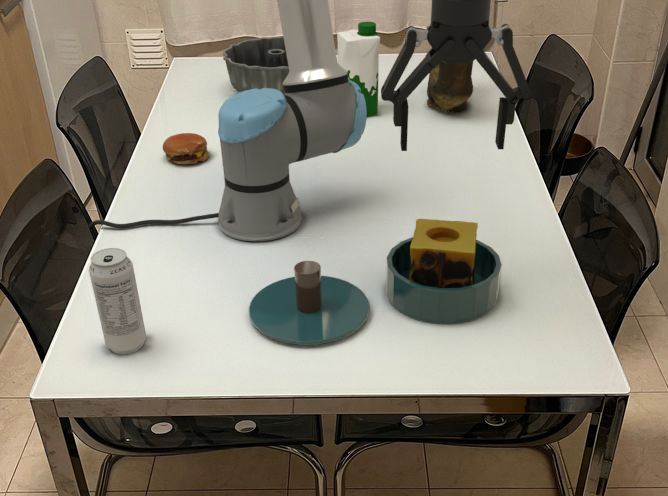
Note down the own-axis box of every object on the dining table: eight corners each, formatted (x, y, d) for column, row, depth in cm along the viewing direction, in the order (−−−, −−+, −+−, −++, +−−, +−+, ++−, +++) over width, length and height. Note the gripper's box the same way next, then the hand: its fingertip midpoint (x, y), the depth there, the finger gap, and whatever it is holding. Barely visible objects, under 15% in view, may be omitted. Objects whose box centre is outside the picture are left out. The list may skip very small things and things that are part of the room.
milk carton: (382, 116, 196) (383, 28, 184) (346, 121, 194) (344, 32, 182) (370, 103, 203) (370, 18, 191) (334, 108, 200) (332, 22, 189)
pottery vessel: (478, 126, 189) (486, 36, 178) (430, 127, 190) (435, 37, 178) (464, 88, 210) (470, 5, 198) (421, 89, 210) (424, 6, 198)
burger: (173, 147, 183) (170, 127, 180) (214, 149, 182) (211, 129, 179) (158, 166, 175) (155, 145, 173) (201, 168, 174) (199, 147, 171)
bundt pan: (287, 67, 226) (285, 29, 220) (351, 91, 210) (351, 50, 204) (206, 90, 213) (201, 50, 207) (267, 117, 196) (264, 75, 191)
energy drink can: (149, 331, 127) (133, 244, 118) (144, 355, 122) (127, 266, 113) (109, 333, 126) (90, 246, 118) (103, 357, 122) (82, 268, 113)
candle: (471, 310, 128) (477, 254, 122) (406, 304, 130) (408, 248, 124) (475, 276, 136) (480, 221, 130) (414, 271, 138) (416, 217, 132)
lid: (244, 348, 123) (239, 302, 118) (254, 282, 137) (250, 238, 133) (370, 347, 122) (371, 300, 117) (367, 280, 137) (367, 236, 132)
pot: (389, 325, 127) (389, 291, 123) (384, 265, 141) (384, 234, 137) (505, 323, 126) (509, 290, 123) (488, 264, 140) (492, 232, 137)
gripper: (364, -3, 103) (364, 158, 116) (567, -7, 103) (544, 155, 115) (363, -17, 109) (363, 137, 122) (554, -21, 109) (534, 134, 122)
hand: (451, 146), depth 119 cm, fingers open, 13 cm apart
